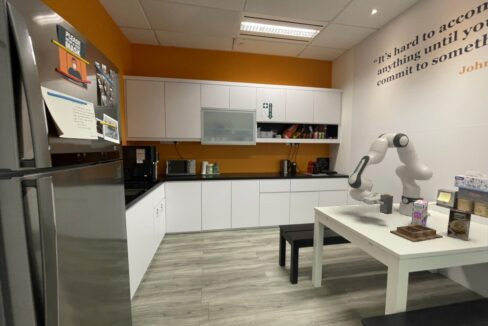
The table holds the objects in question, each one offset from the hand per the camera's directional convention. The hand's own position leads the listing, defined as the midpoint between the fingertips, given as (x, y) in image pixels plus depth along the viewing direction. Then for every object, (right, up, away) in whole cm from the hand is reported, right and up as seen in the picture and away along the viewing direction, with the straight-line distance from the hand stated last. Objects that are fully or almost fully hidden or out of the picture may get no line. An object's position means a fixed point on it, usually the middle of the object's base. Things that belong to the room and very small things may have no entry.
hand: (387, 203), depth 143 cm
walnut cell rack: (+9, -17, -13) cm, 23 cm away
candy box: (+24, -16, +4) cm, 29 cm away
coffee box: (+32, -18, -15) cm, 39 cm away
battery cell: (0, -7, +1) cm, 7 cm away
